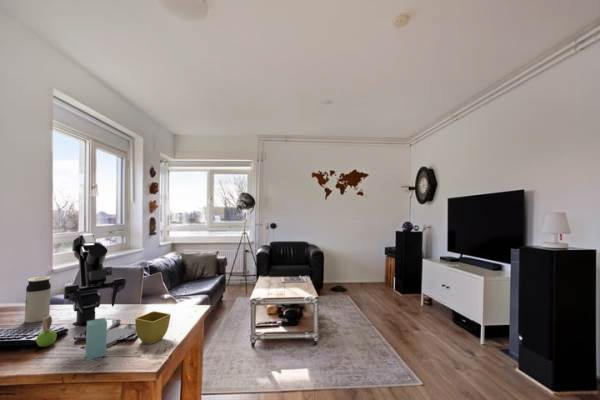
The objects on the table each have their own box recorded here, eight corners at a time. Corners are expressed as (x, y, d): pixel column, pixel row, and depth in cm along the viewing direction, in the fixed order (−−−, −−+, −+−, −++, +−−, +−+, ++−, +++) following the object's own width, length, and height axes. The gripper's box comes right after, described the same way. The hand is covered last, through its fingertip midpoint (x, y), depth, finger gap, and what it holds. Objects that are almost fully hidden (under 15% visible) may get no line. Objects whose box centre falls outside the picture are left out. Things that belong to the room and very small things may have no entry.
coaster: (85, 343, 103) (86, 340, 104) (115, 330, 115) (115, 327, 115) (107, 347, 101) (107, 343, 101) (135, 333, 112) (135, 330, 112)
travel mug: (51, 315, 130) (53, 275, 131) (45, 321, 123) (47, 279, 124) (29, 318, 127) (31, 277, 127) (21, 324, 119) (23, 281, 120)
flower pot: (170, 337, 109) (171, 313, 110) (152, 347, 101) (152, 322, 101) (152, 334, 112) (153, 310, 112) (133, 343, 104) (134, 318, 104)
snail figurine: (32, 352, 97) (34, 316, 97) (38, 344, 102) (40, 310, 103) (52, 348, 99) (54, 313, 100) (58, 341, 105) (59, 308, 105)
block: (85, 354, 96) (87, 321, 96) (103, 349, 99) (104, 317, 100) (87, 360, 92) (88, 325, 93) (105, 355, 95) (107, 321, 96)
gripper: (65, 263, 100) (66, 305, 93) (126, 257, 113) (131, 293, 106) (63, 279, 106) (64, 319, 99) (120, 271, 119) (125, 306, 112)
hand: (98, 309), depth 104 cm, fingers open, 9 cm apart
